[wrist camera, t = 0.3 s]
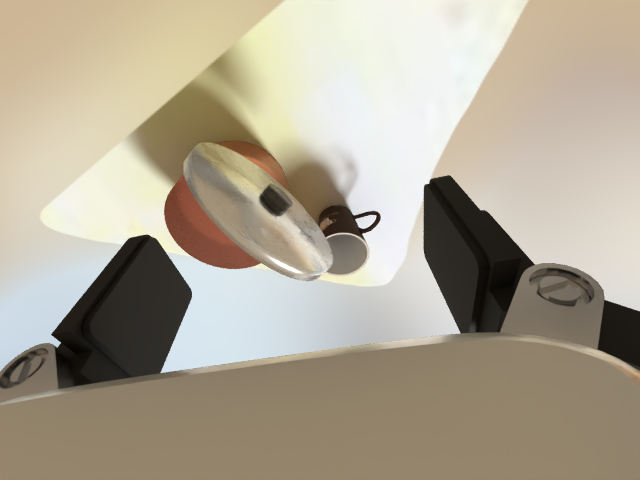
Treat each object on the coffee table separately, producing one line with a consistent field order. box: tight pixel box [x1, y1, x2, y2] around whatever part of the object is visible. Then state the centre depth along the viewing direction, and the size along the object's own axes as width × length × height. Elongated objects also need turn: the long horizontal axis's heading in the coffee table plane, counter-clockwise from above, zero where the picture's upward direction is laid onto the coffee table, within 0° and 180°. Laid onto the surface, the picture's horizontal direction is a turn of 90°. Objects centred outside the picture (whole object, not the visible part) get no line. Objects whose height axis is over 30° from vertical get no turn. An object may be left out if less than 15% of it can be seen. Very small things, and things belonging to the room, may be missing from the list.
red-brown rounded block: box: [164, 141, 288, 269], centre depth 45 cm, size 16×16×11 cm
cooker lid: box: [183, 142, 333, 281], centre depth 30 cm, size 17×17×3 cm
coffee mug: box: [318, 206, 380, 276], centre depth 50 cm, size 12×9×10 cm
